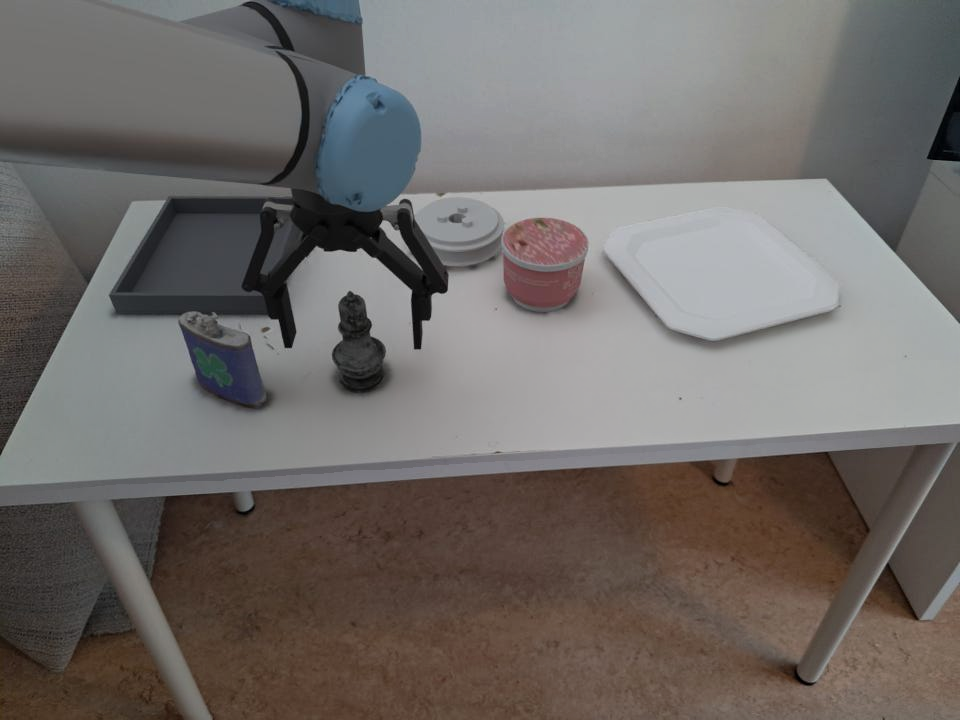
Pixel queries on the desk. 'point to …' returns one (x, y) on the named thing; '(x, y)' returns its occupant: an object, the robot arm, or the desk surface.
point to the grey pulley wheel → (461, 230)
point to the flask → (223, 360)
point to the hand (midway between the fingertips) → (354, 340)
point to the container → (543, 262)
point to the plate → (720, 272)
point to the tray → (200, 258)
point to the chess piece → (358, 348)
